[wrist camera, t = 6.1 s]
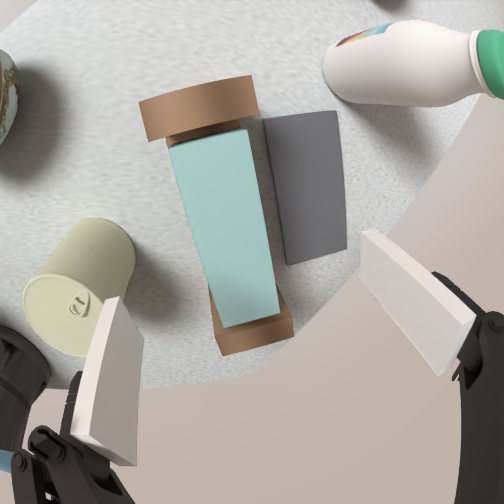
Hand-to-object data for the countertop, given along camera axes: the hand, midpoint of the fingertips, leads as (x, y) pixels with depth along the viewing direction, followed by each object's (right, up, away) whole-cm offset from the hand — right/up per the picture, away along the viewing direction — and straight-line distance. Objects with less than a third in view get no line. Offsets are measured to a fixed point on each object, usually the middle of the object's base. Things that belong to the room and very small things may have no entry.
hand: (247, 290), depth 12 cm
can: (-17, +1, +16) cm, 24 cm away
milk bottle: (+11, +21, +12) cm, 27 cm away
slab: (-2, +4, +11) cm, 12 cm away
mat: (+7, +9, +18) cm, 21 cm away
